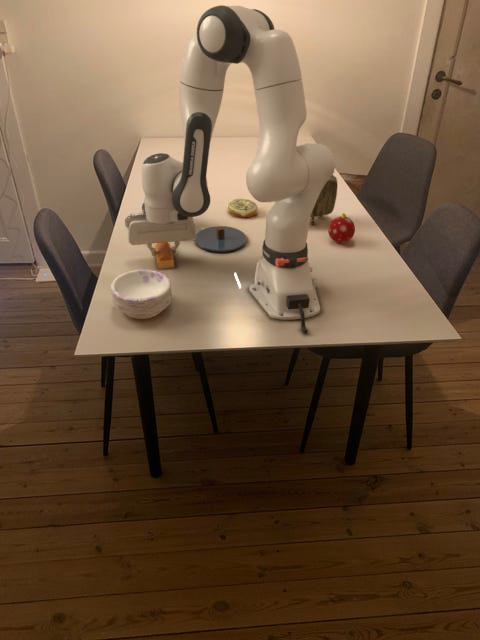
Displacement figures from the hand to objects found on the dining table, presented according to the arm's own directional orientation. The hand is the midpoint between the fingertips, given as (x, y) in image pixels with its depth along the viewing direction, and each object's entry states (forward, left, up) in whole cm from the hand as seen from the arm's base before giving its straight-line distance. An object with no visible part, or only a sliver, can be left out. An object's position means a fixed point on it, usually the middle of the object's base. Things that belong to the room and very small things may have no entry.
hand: (164, 253), depth 148 cm
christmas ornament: (+1, -58, -2) cm, 58 cm away
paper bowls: (-25, +8, -2) cm, 26 cm away
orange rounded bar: (0, 0, -2) cm, 2 cm away
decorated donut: (+28, -31, -2) cm, 42 cm away
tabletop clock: (+16, -53, -2) cm, 55 cm away
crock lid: (+8, -19, -1) cm, 21 cm away
